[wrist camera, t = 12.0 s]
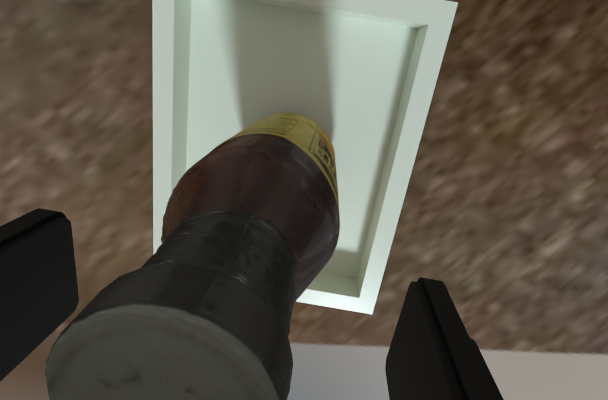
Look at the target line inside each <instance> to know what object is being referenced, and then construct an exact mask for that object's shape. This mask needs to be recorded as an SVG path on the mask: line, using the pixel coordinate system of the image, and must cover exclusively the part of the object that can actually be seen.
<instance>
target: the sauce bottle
mask: <svg viewBox="0 0 608 400" xmlns="http://www.w3.org/2000/svg"><path fill="white" fill-rule="evenodd" d="M339 231H340V216H339V200H338V186H337V173H336V161H335V152H334V148H333V145H332V143H331V141H330V139H329V137H328V135H327V134H326V133H325V131H324V130H323V129H322V128H321V127H320V126H319V125H318V124H317V123H316V122H314V121H313V120H311V119H309V118H307V117H305V116H302V115H300V114H296V113H289V112H281V113H274V114H271V115H269V116H266V117H264V118H262V119H260V120H259V121H257V122H255V123H254V124H252V125H250V126H249V127H247V128H246V129H244V130H242V131H241V132H239V133H237V134H236V135H234V136H233V137H231V138H229V139H228V140H226V141H224V142H223V143H221V144H220V145H218V146H217V147H215V148H214V149H213V150H212V151H211V152H210V153H208V154H207V155H206V156H204V157H203V158H202V159H201V160H199V161H198V162H197V163H195V164H194V165H193V166H192V167H191V168H190V169H188V170H187V171H186V173H184V175H183V177H181V178H180V180H179V181H178V183H177V185H176V187H175V188H174V189H173V191H172V194H171V196H170V198H169V201H168V203H167V207H166V211H165V214H164V216H163V226H162V237H161V242H162V244H161V245H160V246H159V248H158V249H157V252H156V253H155V254H154V255H153V256H152V257H151V258H150V259H149V260H148V261H147V262H146V263H145V264H144V265H143V266H142V267H141V268H140V269H137V270H135V271H132V272H129V273H127V274H124V275H122V276H120V277H118V278H117V279H116V280H114V281H113V282H112V283H110V284H109V285H108V286H106V287H105V288H104V289H102V290H101V291H100V292H99V293H98V294H97V295H96V296H95V298H94V299H93V300H92V301H91V302H90V303H89V304H88V305H87V306H86V307H85V308H84V309H83V310H82V311H81V312H80V313H79V314H78V315H77V316H76V318H75V319H74V320H73V321H72V322H71V323H70V324H69V325H68V326H67V327H66V328H65V329H64V330H63V331H62V332H61V333H60V335H59V337H58V338H57V340H56V342H55V343H54V345H53V347H52V349H51V352H50V355H49V357H48V359H47V361H46V369H45V375H46V382H47V388H48V395H49V400H287V397H288V394H289V389H290V381H291V376H292V368H293V359H292V353H291V348H290V343H289V339H288V335H289V331H290V320H291V315H292V309H293V306H294V304H295V302H296V300H297V299H298V298H299V297H300V296H301V295H302V293H303V292H304V291H305V290H306V288H307V287H308V286H309V285H310V284H311V282H312V281H313V280H314V279H315V278H316V276H317V275H318V274H319V273H320V271H321V270H322V269H323V268H324V267H325V265H326V264H327V263H328V261H329V260H330V258H331V257H332V255H333V253H334V250H335V248H336V246H337V242H338V238H339Z"/></svg>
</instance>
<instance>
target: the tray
mask: <svg viewBox="0 0 608 400" xmlns="http://www.w3.org/2000/svg"><path fill="white" fill-rule="evenodd" d="M152 1H153V248H154V254H155V253H156V252H157V249H158V248H159V246H160V245H161V244H162V242H161V237H162V226H163V216H164V214H165V211H166V207H167V203H168V201H169V198H170V196H171V194H172V191H173V189H174V188H175V187H176V185H177V183H178V181H179V180H180V178H181V177H183V175H184V173H186V171H187V170H188V169H190V168H191V167H192V166H193V165H194V164H195V163H197V162H198V161H199V160H201V159H202V158H203V157H204V156H206V155H207V154H208V153H210V152H211V151H212V150H213V149H214V148H215V147H217V146H218V145H220V144H221V143H223V142H224V141H226V140H228V139H229V138H231V137H233V136H234V135H236V134H237V133H239V132H241V131H242V130H244V129H246V128H247V127H249V126H250V125H252V124H254V123H255V122H257V121H259V120H260V119H262V118H264V117H266V116H269V115H271V114H274V113H281V112H289V113H296V114H300V115H302V116H305V117H307V118H309V119H311V120H313V121H314V122H316V123H317V124H318V125H319V126H320V127H321V128H322V129H323V130H324V131H325V133H326V134H327V135H328V137H329V139H330V141H331V143H332V145H333V148H334V152H335V161H336V173H337V186H338V200H339V216H340V231H339V238H338V242H337V246H336V248H335V250H334V253H333V255H332V257H331V258H330V260H329V261H328V263H327V264H326V265H325V267H324V268H323V269H322V270H321V271H320V273H319V274H318V275H317V276H316V278H315V279H314V280H313V281H312V282H311V284H310V285H309V286H308V287H307V288H306V290H305V291H304V292H303V293H302V295H301V296H300V297H299V298H298V299H297V300H296V301H297V302H302V303H308V304H314V305H320V306H326V307H332V308H338V309H343V310H349V311H355V312H361V313H367V314H373V310H374V306H375V303H376V299H377V295H378V292H379V288H380V285H381V281H382V277H383V274H384V270H385V266H386V263H387V259H388V255H389V252H390V248H391V245H392V241H393V237H394V234H395V230H396V226H397V223H398V219H399V216H400V212H401V208H402V205H403V201H404V197H405V194H406V190H407V186H408V183H409V179H410V176H411V172H412V168H413V165H414V161H415V157H416V154H417V150H418V147H419V143H420V139H421V136H422V132H423V128H424V125H425V121H426V117H427V114H428V110H429V107H430V103H431V99H432V96H433V92H434V88H435V85H436V81H437V77H438V74H439V70H440V67H441V63H442V59H443V56H444V52H445V48H446V45H447V41H448V38H449V34H450V30H451V27H452V23H453V19H454V16H455V12H456V8H457V5H458V3H457V2H451V1H445V0H152Z"/></svg>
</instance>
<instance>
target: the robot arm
mask: <svg viewBox="0 0 608 400" xmlns="http://www.w3.org/2000/svg"><path fill="white" fill-rule="evenodd" d="M78 302H79V297H78V287H77V277H76V267H75V258H74V248H73V238H72V228H71V222H70V221H69V220H68V219H66V216H65V215H64V214H63V213H62V212H57V211H52V210H46V209H35V210H33V211H31V212H29V213H27V214H25V215H23V216H21V217H19V218H17V219H15V220H13V221H11V222H9V223H7V224H5V225H3V226H0V381H1V380H2V379H3V378H4V377H5V376H7V375H8V374H9V373H10V372H11V371H12V370H13V369H14V368H15V367H16V366H17V365H18V364H19V363H20V362H21V361H23V360H24V359H25V358H26V357H27V356H28V355H29V354H30V353H31V352H32V351H33V350H34V349H35V348H36V347H37V346H38V345H39V344H40V343H42V342H43V341H44V340H45V339H46V338H47V337H48V336H49V335H50V334H51V333H52V332H53V331H54V330H55V329H56V328H57V327H59V326H60V325H61V324H62V323H63V322H64V321H65V320H66V319H67V318H68V317H69V316H70V315H71V314H72V313H73V312H74V311H75V309H76V308H77V305H78ZM386 377H387V384H388V391H389V398H390V400H503V398H502V396H501V394H500V392H499V389H498V387H497V385H496V383H495V381H494V379H493V377H492V375H491V373H490V371H489V369H488V367H487V365H486V363H485V361H484V358H483V357H482V354H481V352H480V350H479V348H478V346H477V344H476V343H475V341H474V340H473V339H471V338H469V335H468V333H467V331H466V329H465V327H464V325H463V323H462V321H461V318H460V316H459V314H458V312H457V310H456V308H455V306H454V304H453V301H452V299H451V297H450V295H449V293H448V291H447V289H446V286H445V284H444V283H443V282H442V281H438V280H432V279H427V278H419V279H418V281H417V282H413V281H412V282H411V283H410V285H409V288H408V291H407V295H406V298H405V301H404V304H403V307H402V311H401V314H400V317H399V320H398V323H397V326H396V330H395V333H394V336H393V339H392V342H391V346H390V349H389V352H388V355H387V359H386Z"/></svg>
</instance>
